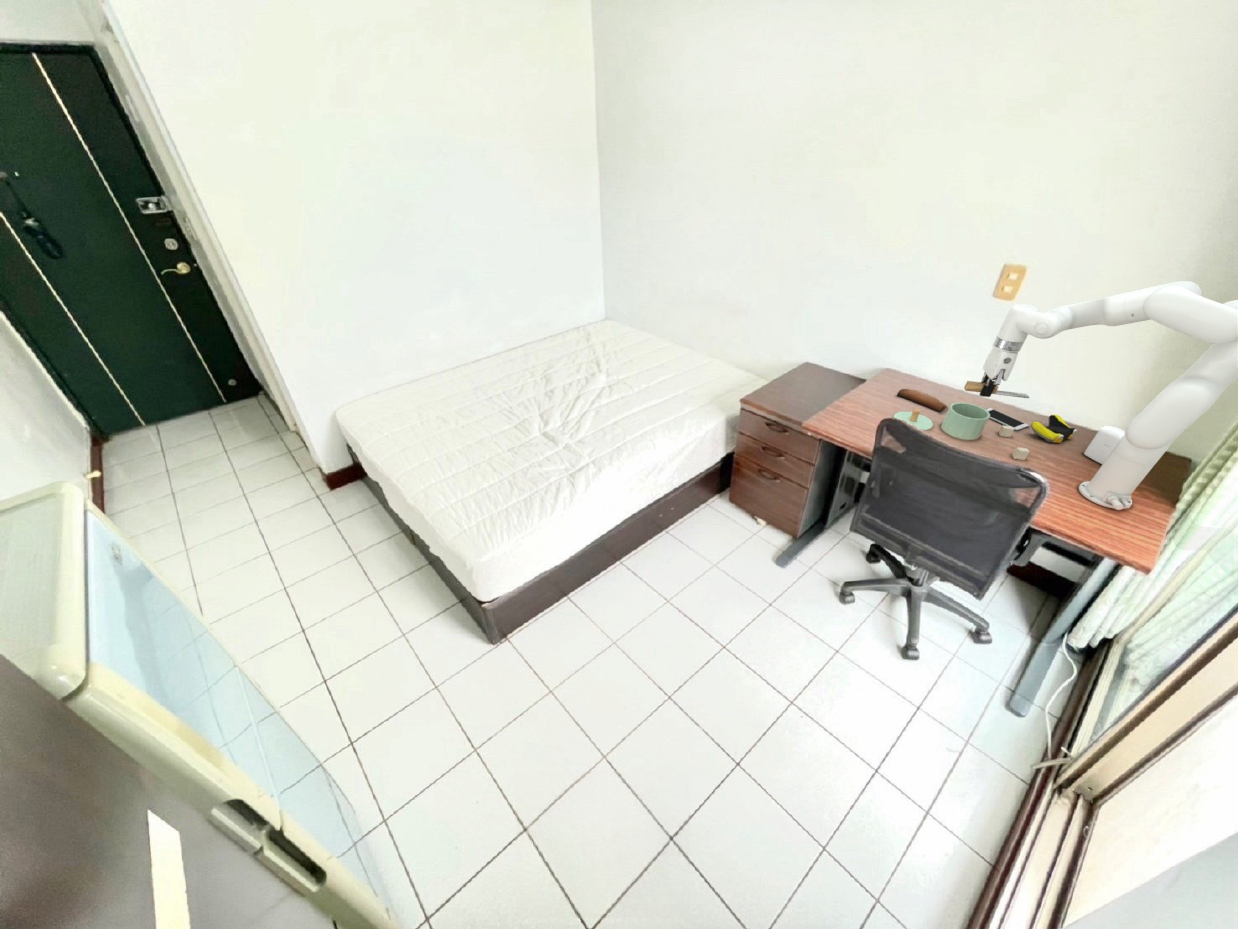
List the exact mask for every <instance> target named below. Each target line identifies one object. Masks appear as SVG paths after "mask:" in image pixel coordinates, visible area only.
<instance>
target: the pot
mask: <svg viewBox="0 0 1238 929" xmlns="http://www.w3.org/2000/svg"><path fill="white" fill-rule="evenodd" d="M989 417H990V413H989V412H988V411H987V410H986V409H985V408H984V407H982V406H979V405H978V404H973V403H969V402H962V401H961V402H960V401H959V402H953V403H951V404H950V405H949V407H948V410H947V411H946V414H945V416H944V419H943V420H942V423H941V425H940V428H941V430H942V431H943V432H944V433H946V434H948V435H949V436H952V437H953V438H957V439H960V440H968V441H970V440H977V439H979V438H980V437H981V435H982V433H983V431H984V429H985V427H986V425H987V423H988V421H989V420H990V418H989Z"/></svg>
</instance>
